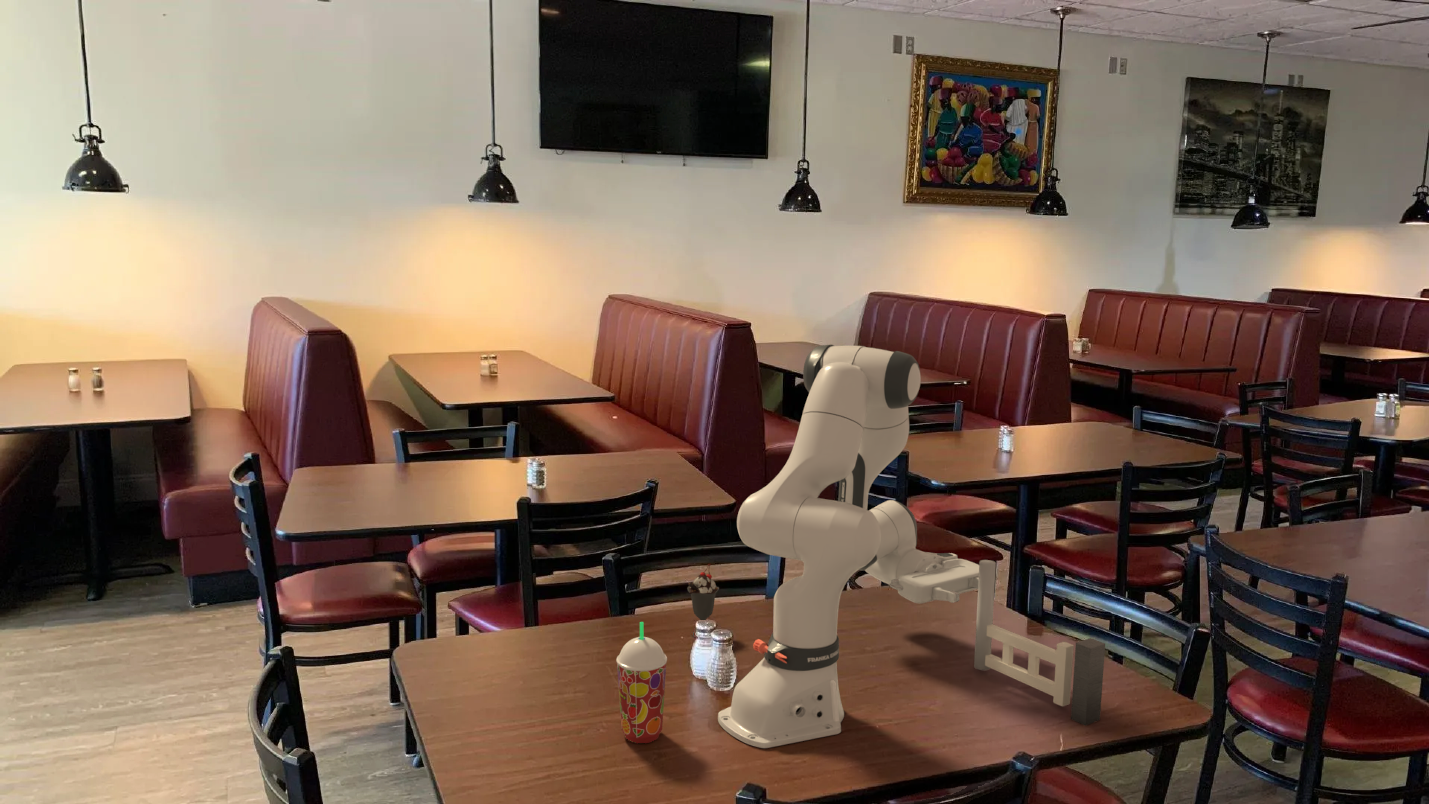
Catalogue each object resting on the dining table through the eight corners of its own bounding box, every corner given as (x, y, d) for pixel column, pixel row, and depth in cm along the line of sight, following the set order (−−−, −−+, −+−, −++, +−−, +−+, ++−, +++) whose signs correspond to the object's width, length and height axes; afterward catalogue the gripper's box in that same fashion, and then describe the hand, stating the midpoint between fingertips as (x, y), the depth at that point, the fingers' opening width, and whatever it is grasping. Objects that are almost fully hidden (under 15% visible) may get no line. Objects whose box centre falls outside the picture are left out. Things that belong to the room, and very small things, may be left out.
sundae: (720, 629, 222) (720, 561, 220) (717, 641, 216) (717, 571, 213) (689, 627, 223) (689, 560, 220) (685, 639, 216) (685, 570, 214)
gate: (1071, 703, 186) (1079, 590, 183) (1060, 707, 185) (1068, 593, 181) (981, 662, 203) (986, 559, 200) (970, 666, 202) (976, 561, 198)
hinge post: (1085, 725, 180) (1090, 648, 178) (1070, 719, 182) (1075, 642, 180) (1099, 719, 182) (1105, 643, 180) (1085, 713, 184) (1090, 638, 182)
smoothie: (620, 724, 179) (619, 612, 176) (668, 725, 179) (668, 613, 176) (614, 747, 171) (613, 631, 168) (664, 748, 171) (664, 632, 167)
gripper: (885, 568, 207) (936, 587, 195) (957, 551, 218) (1010, 569, 206) (884, 598, 208) (934, 620, 196) (956, 580, 219) (1008, 599, 207)
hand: (974, 593), depth 201 cm, fingers open, 8 cm apart
